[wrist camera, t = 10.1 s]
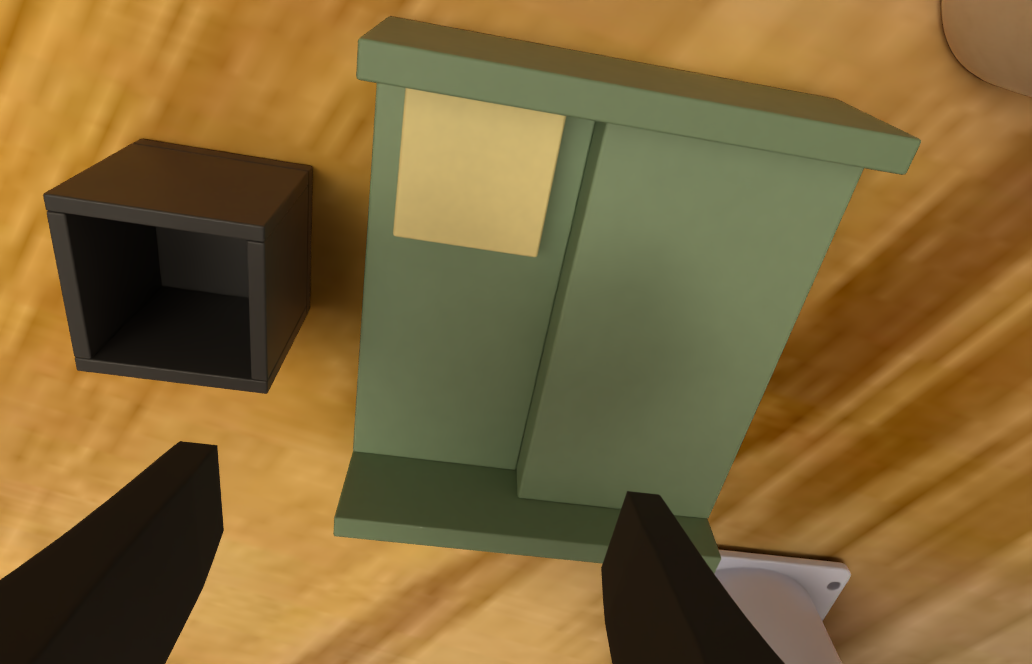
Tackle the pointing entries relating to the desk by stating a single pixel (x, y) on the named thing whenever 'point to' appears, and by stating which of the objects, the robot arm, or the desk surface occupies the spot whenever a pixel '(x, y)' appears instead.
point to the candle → (992, 40)
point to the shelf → (588, 297)
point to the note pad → (475, 173)
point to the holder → (184, 264)
